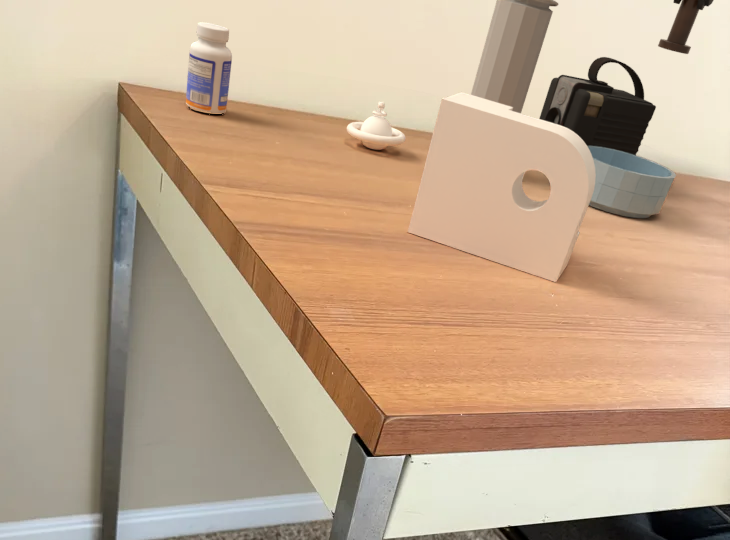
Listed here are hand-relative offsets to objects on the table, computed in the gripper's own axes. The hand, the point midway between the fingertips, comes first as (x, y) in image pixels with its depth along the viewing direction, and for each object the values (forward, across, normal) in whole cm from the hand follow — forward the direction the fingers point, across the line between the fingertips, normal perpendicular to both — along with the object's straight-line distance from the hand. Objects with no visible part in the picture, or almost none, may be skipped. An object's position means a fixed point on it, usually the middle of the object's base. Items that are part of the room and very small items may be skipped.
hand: (689, 0), depth 102 cm
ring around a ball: (+31, -28, +3) cm, 42 cm away
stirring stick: (+2, 0, +5) cm, 6 cm away
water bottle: (+23, -17, +10) cm, 31 cm away
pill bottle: (+39, -48, -6) cm, 62 cm away
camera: (+10, -9, +24) cm, 28 cm away
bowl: (+19, +1, +14) cm, 24 cm away
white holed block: (+46, -1, -12) cm, 47 cm away
